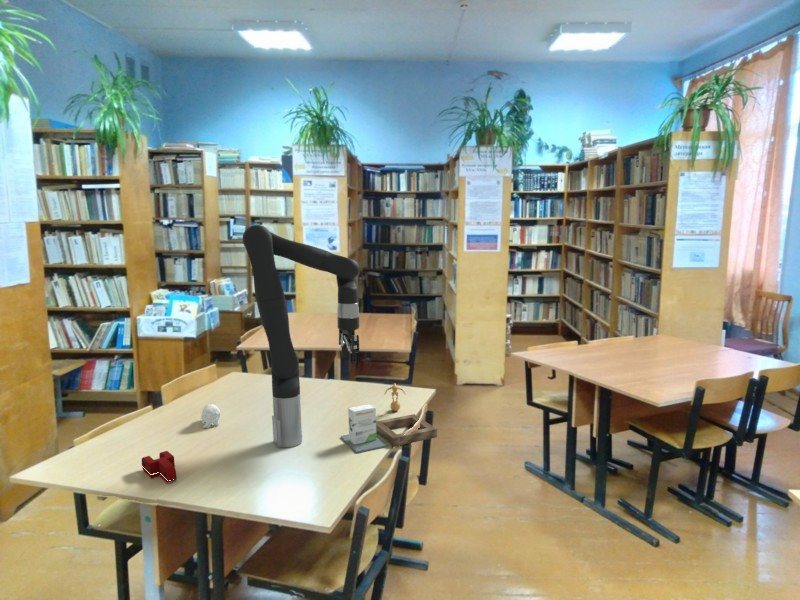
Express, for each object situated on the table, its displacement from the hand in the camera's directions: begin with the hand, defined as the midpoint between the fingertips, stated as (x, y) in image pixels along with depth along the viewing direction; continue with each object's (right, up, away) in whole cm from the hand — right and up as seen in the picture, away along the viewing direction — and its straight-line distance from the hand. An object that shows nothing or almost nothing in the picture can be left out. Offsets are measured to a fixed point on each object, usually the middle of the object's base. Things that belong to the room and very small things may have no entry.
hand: (349, 360), depth 191 cm
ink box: (+5, -27, -4) cm, 28 cm away
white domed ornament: (-55, -26, +16) cm, 62 cm away
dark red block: (-54, -32, -26) cm, 68 cm away
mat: (+5, -28, -4) cm, 28 cm away
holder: (+20, -26, +3) cm, 33 cm away
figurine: (+16, -23, +26) cm, 38 cm away
